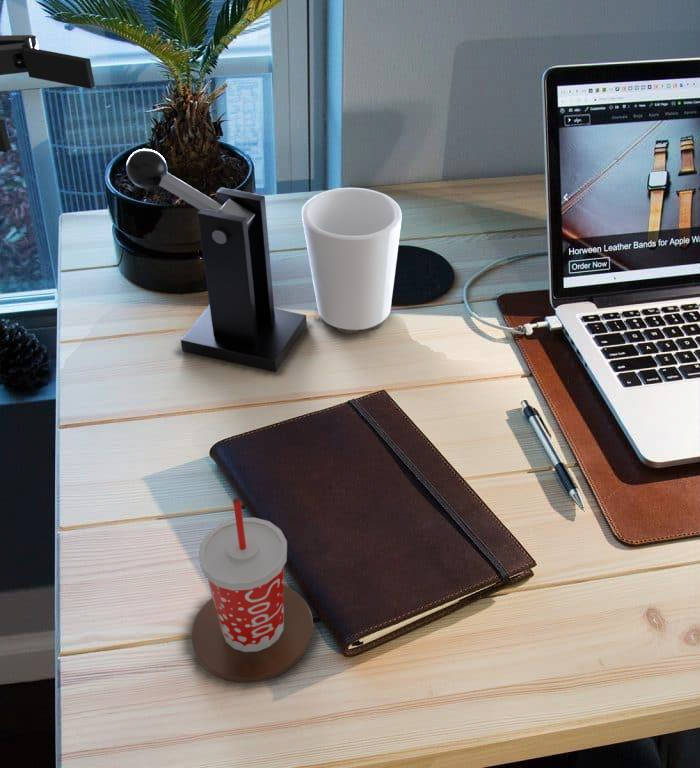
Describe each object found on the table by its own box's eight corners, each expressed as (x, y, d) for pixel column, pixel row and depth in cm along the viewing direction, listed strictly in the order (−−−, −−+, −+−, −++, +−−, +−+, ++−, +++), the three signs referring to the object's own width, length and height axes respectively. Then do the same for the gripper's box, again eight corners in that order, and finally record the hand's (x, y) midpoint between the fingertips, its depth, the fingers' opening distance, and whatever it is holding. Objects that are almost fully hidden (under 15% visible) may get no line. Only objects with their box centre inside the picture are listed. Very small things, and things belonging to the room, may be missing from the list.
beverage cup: (216, 669, 76) (194, 542, 67) (207, 603, 81) (185, 476, 72) (300, 650, 78) (289, 524, 69) (287, 587, 82) (275, 461, 73)
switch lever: (114, 181, 96) (124, 152, 93) (134, 163, 98) (144, 135, 96) (232, 252, 98) (244, 225, 95) (248, 232, 100) (260, 206, 98)
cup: (351, 277, 116) (348, 176, 108) (419, 312, 112) (422, 210, 104) (287, 317, 110) (279, 213, 102) (357, 356, 106) (355, 250, 98)
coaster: (196, 694, 75) (195, 689, 75) (188, 596, 82) (188, 591, 81) (321, 669, 78) (321, 664, 77) (304, 576, 84) (304, 571, 84)
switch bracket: (182, 351, 104) (160, 215, 94) (217, 307, 110) (201, 174, 100) (276, 372, 103) (264, 236, 93) (306, 326, 109) (299, 193, 99)
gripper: (-61, 51, 109) (127, 87, 106) (-247, 160, 90) (-25, 206, 87) (-81, -21, 104) (114, 14, 101) (-283, 78, 85) (-49, 124, 82)
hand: (50, 103), depth 94 cm, fingers open, 13 cm apart
